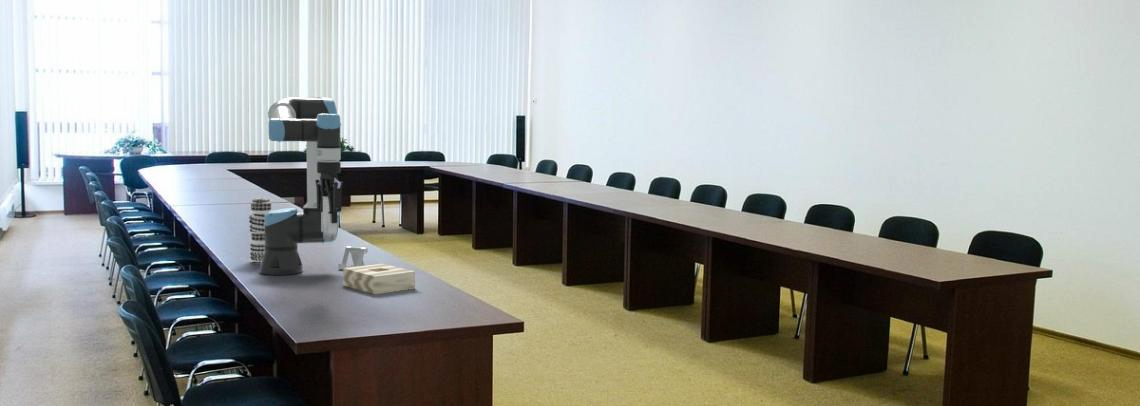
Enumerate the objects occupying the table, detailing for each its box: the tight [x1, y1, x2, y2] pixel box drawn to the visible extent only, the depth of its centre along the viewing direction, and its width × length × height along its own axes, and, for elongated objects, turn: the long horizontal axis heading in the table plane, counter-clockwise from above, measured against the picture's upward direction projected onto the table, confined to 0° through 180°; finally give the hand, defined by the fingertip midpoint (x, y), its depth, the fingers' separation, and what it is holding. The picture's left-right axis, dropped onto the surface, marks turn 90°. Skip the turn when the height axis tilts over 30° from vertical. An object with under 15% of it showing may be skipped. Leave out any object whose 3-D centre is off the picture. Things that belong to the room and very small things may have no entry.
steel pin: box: [323, 196, 337, 240], centre depth 312 cm, size 4×4×14 cm
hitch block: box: [342, 263, 416, 295], centre depth 327 cm, size 20×16×6 cm
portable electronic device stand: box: [337, 245, 369, 271], centre depth 361 cm, size 9×8×8 cm
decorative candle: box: [248, 197, 273, 263], centre depth 374 cm, size 9×9×25 cm
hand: (329, 232), depth 312 cm, fingers closed on steel pin, 4 cm apart
